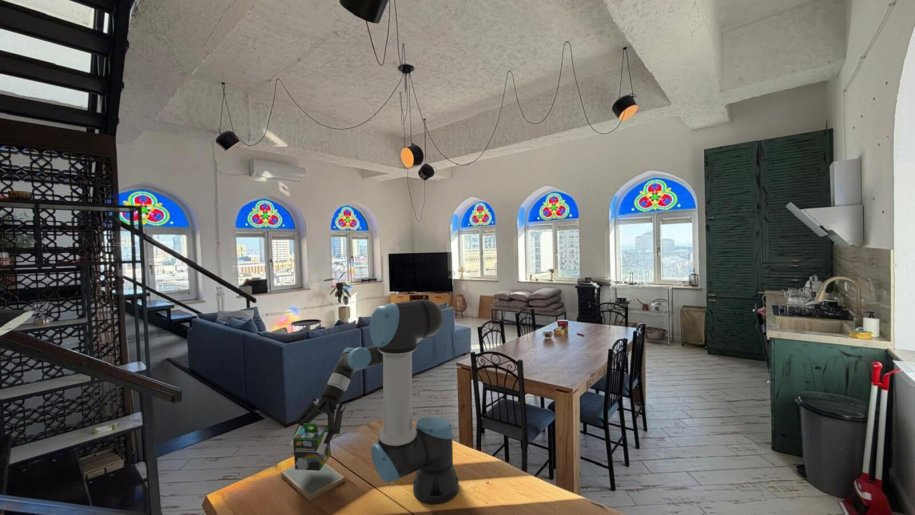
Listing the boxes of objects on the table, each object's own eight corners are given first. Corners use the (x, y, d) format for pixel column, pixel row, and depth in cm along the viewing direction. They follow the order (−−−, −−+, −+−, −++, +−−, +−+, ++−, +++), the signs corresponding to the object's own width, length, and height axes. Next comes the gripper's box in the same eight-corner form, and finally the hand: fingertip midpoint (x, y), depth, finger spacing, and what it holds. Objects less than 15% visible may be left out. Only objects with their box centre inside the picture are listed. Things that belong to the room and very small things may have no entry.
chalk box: (331, 455, 139) (329, 415, 138) (319, 471, 130) (318, 429, 129) (306, 454, 140) (305, 414, 139) (293, 470, 131) (291, 428, 130)
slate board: (344, 481, 134) (344, 476, 134) (309, 501, 124) (308, 496, 124) (315, 459, 147) (315, 455, 147) (281, 475, 137) (281, 471, 137)
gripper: (366, 397, 143) (338, 460, 130) (317, 387, 152) (287, 445, 140) (356, 389, 137) (326, 454, 125) (306, 379, 147) (274, 438, 134)
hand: (306, 449), depth 132 cm, fingers closed on chalk box, 11 cm apart
